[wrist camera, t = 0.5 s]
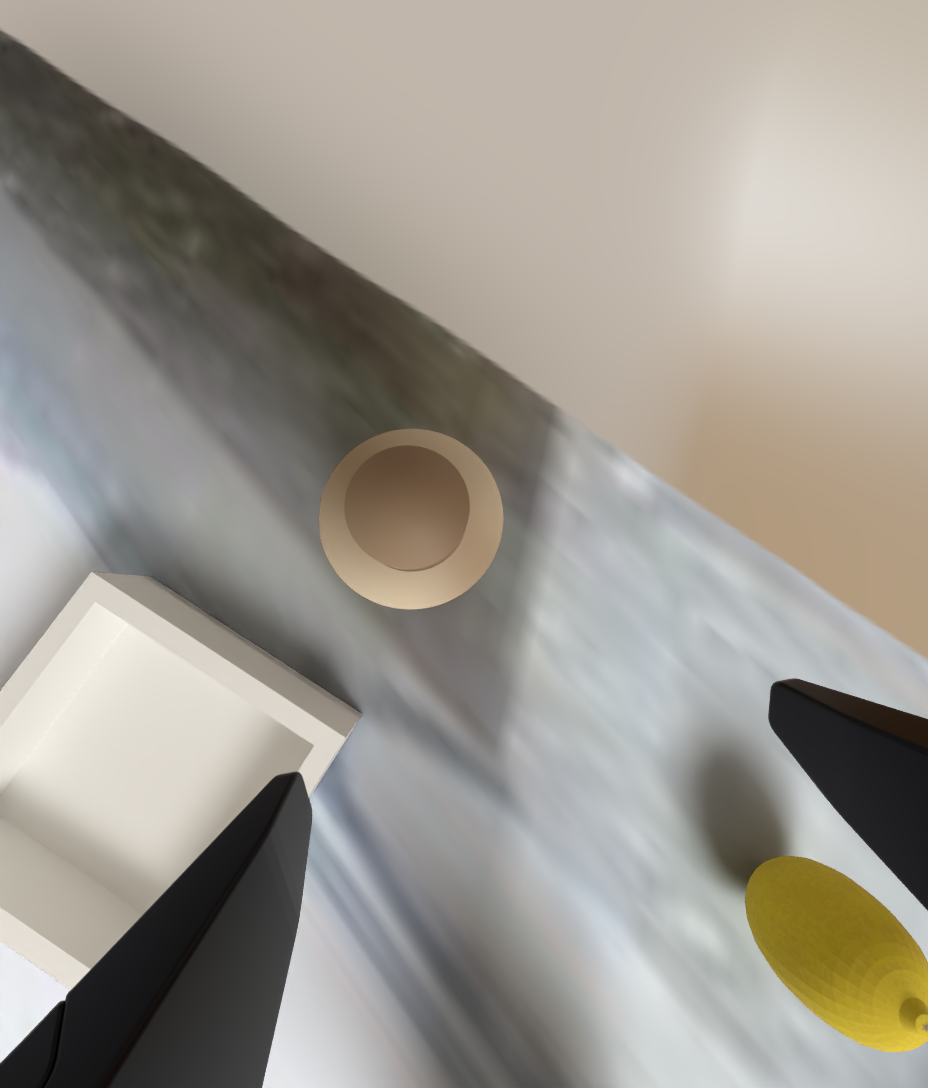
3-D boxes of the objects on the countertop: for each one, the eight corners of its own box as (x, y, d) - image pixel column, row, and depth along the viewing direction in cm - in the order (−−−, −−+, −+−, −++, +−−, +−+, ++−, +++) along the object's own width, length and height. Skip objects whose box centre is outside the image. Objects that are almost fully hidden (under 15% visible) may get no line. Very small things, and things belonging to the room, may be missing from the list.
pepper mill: (442, 621, 24) (439, 652, 10) (368, 573, 24) (259, 536, 10) (489, 546, 25) (548, 475, 11) (416, 501, 25) (378, 369, 11)
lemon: (696, 908, 23) (830, 1072, 15) (734, 807, 24) (880, 913, 16) (791, 956, 23) (976, 1148, 15) (826, 854, 23) (1020, 984, 16)
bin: (205, 962, 21) (150, 1045, 18) (-23, 808, 22) (-126, 854, 18) (362, 714, 23) (345, 737, 19) (150, 576, 24) (91, 571, 20)
